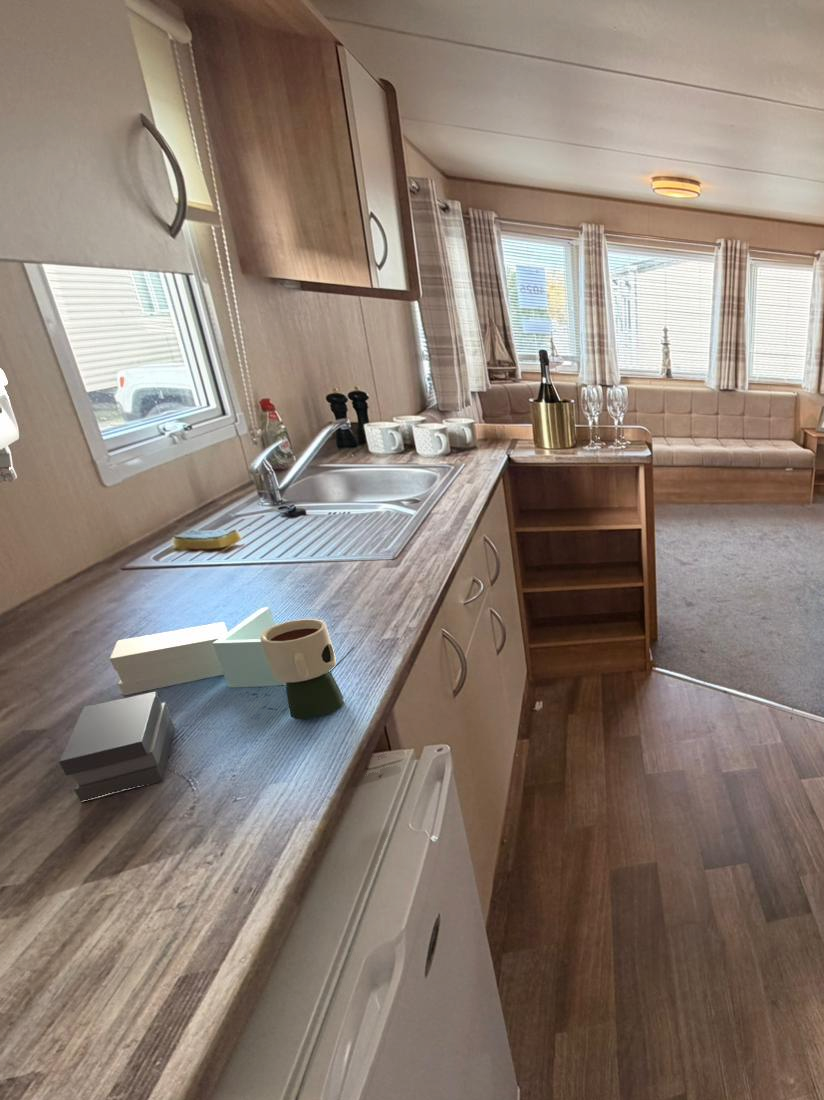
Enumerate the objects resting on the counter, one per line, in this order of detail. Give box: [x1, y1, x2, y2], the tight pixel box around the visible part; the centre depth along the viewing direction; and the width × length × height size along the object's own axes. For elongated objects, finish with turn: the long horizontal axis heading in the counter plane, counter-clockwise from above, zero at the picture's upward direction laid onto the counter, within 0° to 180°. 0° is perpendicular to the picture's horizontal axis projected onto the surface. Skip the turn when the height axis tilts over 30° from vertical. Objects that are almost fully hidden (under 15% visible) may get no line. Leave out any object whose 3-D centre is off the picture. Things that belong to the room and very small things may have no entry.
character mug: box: [260, 618, 345, 720], centre depth 87 cm, size 11×7×13 cm, turn 37°
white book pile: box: [116, 652, 224, 696], centre depth 96 cm, size 12×7×4 cm, turn 127°
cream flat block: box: [109, 621, 229, 672], centre depth 95 cm, size 12×6×2 cm, turn 127°
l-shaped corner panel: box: [212, 606, 286, 689], centre depth 99 cm, size 12×12×8 cm
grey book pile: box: [58, 691, 176, 802], centre depth 77 cm, size 13×7×6 cm, turn 37°
